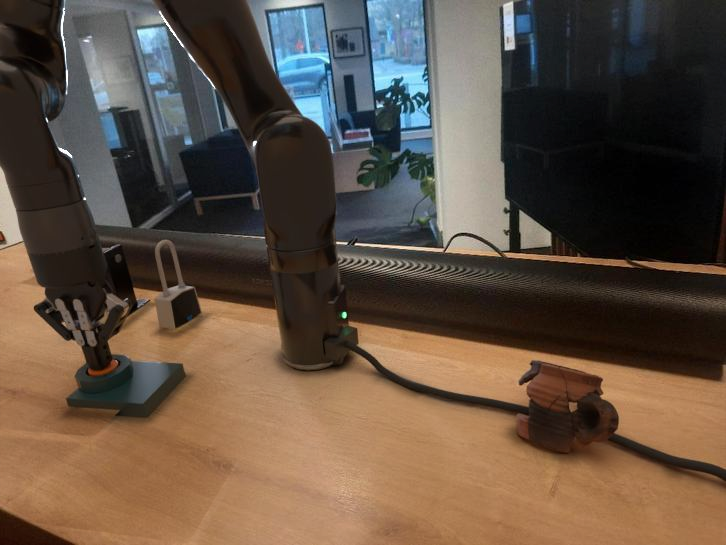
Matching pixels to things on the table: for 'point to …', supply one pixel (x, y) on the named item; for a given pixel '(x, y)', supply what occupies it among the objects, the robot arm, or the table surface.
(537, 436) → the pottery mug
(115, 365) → the button
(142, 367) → the control block
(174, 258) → the padlock
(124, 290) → the black lever base
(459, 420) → the table surface
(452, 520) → the table surface
